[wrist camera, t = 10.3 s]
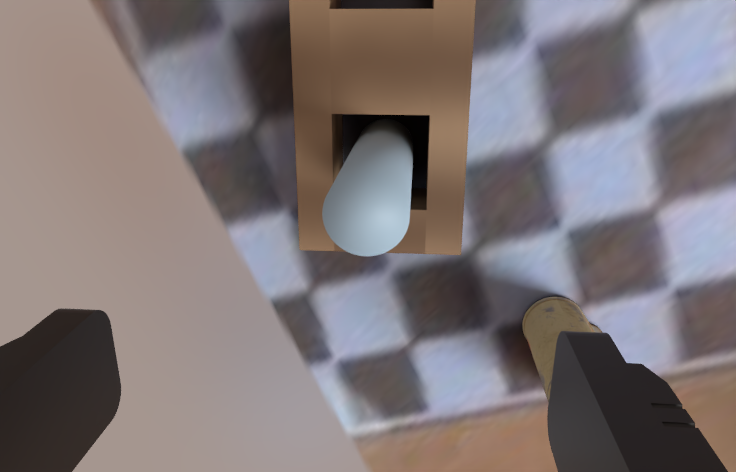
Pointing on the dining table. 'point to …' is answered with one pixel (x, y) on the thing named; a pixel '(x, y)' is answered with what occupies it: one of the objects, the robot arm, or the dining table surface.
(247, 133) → the dining table surface
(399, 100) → the socket block
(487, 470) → the dining table surface
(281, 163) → the dining table surface
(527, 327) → the lighter
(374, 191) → the peg
